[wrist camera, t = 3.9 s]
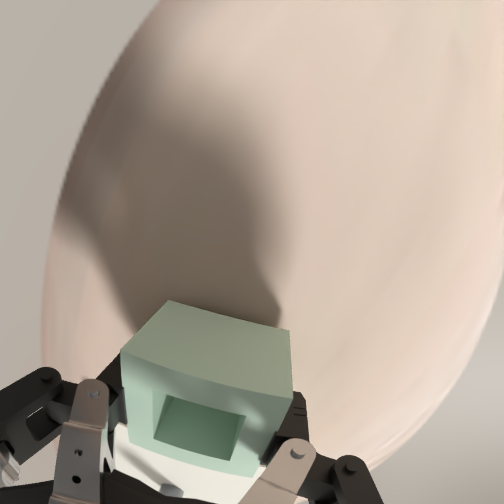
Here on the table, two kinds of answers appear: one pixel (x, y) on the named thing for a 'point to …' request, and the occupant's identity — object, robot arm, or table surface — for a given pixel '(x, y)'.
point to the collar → (206, 387)
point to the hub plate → (178, 474)
